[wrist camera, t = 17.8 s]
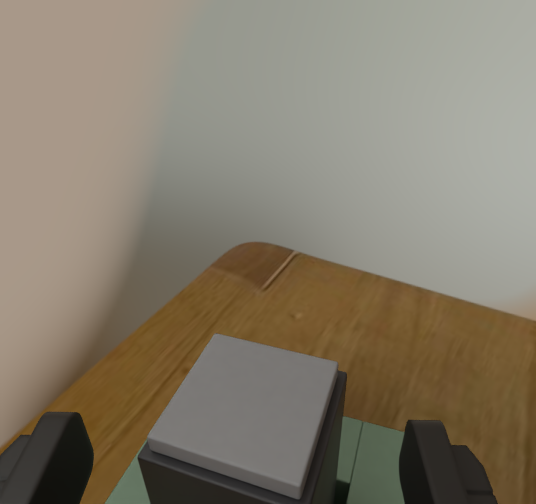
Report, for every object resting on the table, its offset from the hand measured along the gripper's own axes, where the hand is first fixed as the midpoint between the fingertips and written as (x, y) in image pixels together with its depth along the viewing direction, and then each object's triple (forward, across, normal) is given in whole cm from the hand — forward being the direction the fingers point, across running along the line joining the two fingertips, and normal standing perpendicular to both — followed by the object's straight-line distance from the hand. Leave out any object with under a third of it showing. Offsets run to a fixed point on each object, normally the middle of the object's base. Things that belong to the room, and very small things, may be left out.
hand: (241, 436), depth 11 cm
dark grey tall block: (+1, 0, +10) cm, 10 cm away
